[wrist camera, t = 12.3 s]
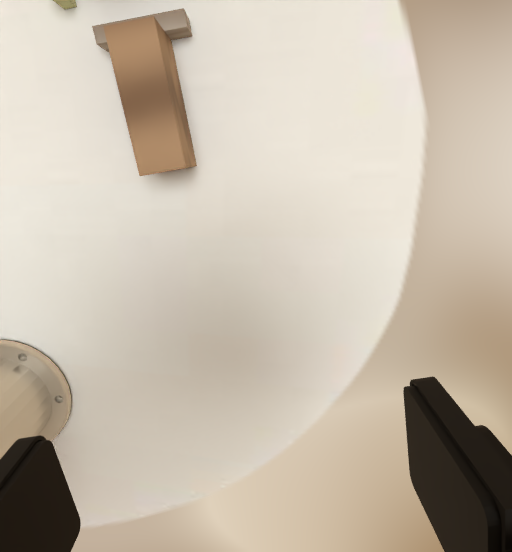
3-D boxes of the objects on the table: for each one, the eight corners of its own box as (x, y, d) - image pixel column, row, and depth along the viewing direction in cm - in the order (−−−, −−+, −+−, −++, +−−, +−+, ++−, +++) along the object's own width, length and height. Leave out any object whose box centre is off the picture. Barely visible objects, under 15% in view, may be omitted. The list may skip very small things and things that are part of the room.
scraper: (216, 162, 36) (209, 163, 30) (138, 176, 36) (116, 180, 30) (189, 19, 33) (175, -10, 27) (104, 35, 33) (72, 10, 27)
